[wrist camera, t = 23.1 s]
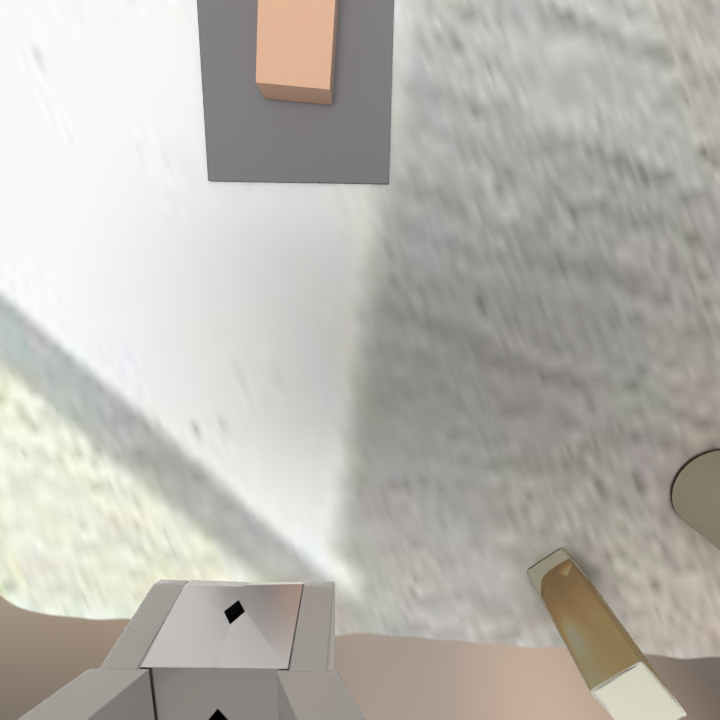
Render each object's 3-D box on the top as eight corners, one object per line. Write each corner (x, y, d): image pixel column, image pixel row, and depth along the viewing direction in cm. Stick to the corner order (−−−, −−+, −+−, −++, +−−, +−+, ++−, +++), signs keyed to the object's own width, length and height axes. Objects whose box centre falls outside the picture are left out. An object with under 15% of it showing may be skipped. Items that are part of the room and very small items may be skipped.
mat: (397, -131, 28) (397, -137, 28) (388, 184, 33) (388, 183, 33) (190, -135, 28) (188, -141, 28) (209, 181, 33) (208, 180, 32)
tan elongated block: (332, 105, 31) (343, -71, 29) (329, 89, 28) (342, -109, 26) (265, 99, 31) (271, -79, 29) (255, 82, 28) (261, -118, 26)
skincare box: (596, 587, 41) (692, 718, 29) (559, 611, 42) (639, 749, 30) (560, 544, 40) (644, 662, 28) (523, 569, 41) (590, 694, 29)
